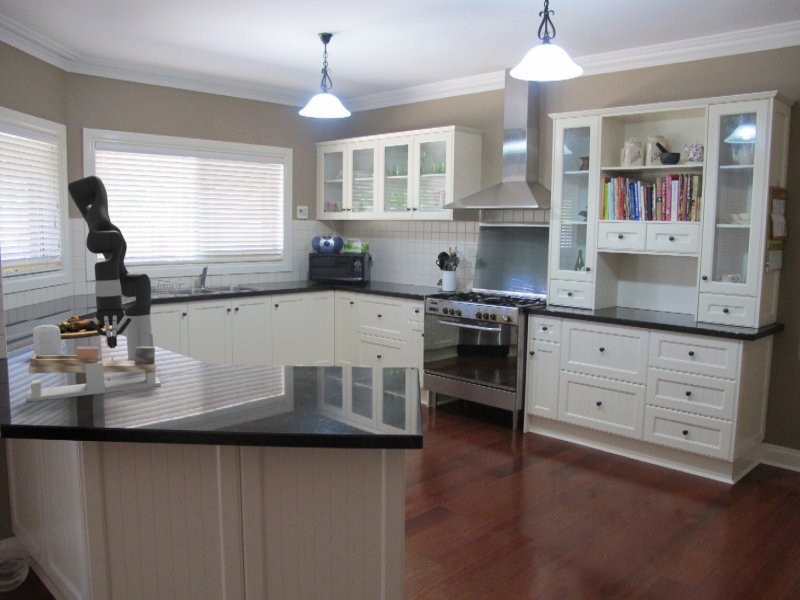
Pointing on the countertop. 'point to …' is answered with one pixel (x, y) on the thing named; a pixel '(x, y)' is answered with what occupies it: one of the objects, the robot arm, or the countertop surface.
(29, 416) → the countertop surface
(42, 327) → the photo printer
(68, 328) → the wooden plate with food
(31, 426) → the countertop surface
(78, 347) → the rider
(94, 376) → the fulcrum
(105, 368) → the beam
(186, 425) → the countertop surface
